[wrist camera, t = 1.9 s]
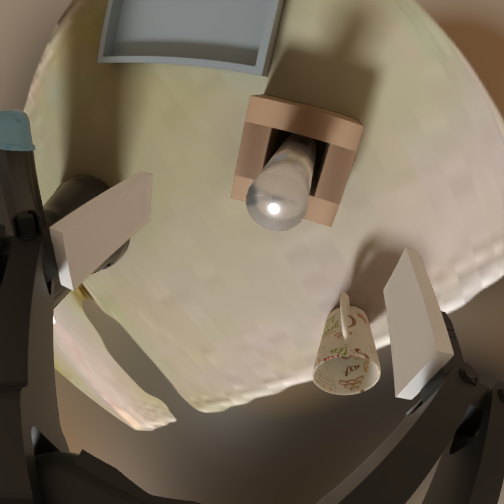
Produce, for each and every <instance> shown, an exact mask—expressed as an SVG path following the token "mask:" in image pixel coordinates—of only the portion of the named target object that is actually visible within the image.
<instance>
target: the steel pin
mask: <svg viewBox="0 0 504 504" xmlns="http://www.w3.org/2000/svg"><path fill="white" fill-rule="evenodd" d="M315 156H316V145H315V143H314V141H313V140H312V139H311V138H310V137H306V136H303V135H299V134H292V135H290V136H289V137H288V138H287V139H286V140H285V141H284V142H283V144H282V145H281V146H280V148H279V149H278V150H277V151H276V153H275V154H274V155H273V157H272V158H271V159H270V160H269V162H268V163H267V164H266V166H265V167H264V168H263V170H262V171H261V172H260V174H259V175H258V176H257V178H256V179H255V180H254V181H253V183H252V184H251V186H250V187H249V189H248V191H247V195H246V206H247V209H248V212H249V214H250V216H251V217H252V218H253V220H254V221H255V222H256V223H258V224H259V225H260V226H262V227H264V228H266V229H269V230H273V231H284V230H288V229H291V228H293V227H295V226H296V225H298V224H299V223H300V222H301V220H302V219H303V218H304V216H305V213H306V210H307V205H308V199H309V193H310V187H311V181H312V175H313V169H314V163H315Z"/></svg>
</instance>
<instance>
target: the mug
mask: <svg viewBox="0 0 504 504" xmlns="http://www.w3.org/2000/svg"><path fill="white" fill-rule="evenodd" d="M380 371H381V370H380V364H379V360H378V356H377V352H376V348H375V344H374V340H373V336H372V332H371V328H370V325H369V321H368V318H367V315H366V313H365V312H364V311H363V310H361V309H360V308H358V307H355V306H350V305H349V297H348V295H347V293H345V292H342V293H341V296H340V307H339V308H336V309H335V310H333V311H332V312H331V313H330V314H329V315H328V317H327V320H326V324H325V328H324V332H323V335H322V339H321V343H320V347H319V350H318V354H317V358H316V361H315V365H314V368H313V380H314V382H315V384H316V385H317V386H318V387H319V388H321V389H322V390H324V391H326V392H329V393H332V394H338V395H351V394H357V393H360V392H363V391H365V390H367V389H369V388H371V387H372V386H373V385H375V384H376V383H377V381H378V380H379V378H380Z"/></svg>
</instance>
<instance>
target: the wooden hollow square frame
mask: <svg viewBox="0 0 504 504" xmlns="http://www.w3.org/2000/svg"><path fill="white" fill-rule="evenodd" d="M279 129H280V130H284V131H288V132H292V133H295V134H299V135H303V136H306V137H310V138H313V139H317V140H320V141H324V142H327V144H326V147H325V151H324V154H323V158H322V161H321V165H320V168H319V172H318V175H317V178H314V177H312V181H311V187H310V193H309V199H308V205H307V210H306V213H305V216H304V218H303V219H307V220H310V221H313V222H317V223H320V224H323V225H326V226H330V227H332V224H333V221H334V218H335V215H336V213H337V210H338V207H339V204H340V201H341V198H342V195H343V192H344V189H345V186H346V183H347V180H348V177H349V174H350V171H351V168H352V165H353V162H354V159H355V155H356V152H357V149H358V146H359V142H360V139H361V136H362V132H363V129H364V126H363V125H362V124H361V123H360V122H359V121H358V120H357V119H354V118H351V117H348V116H344V115H341V114H338V113H335V112H331V111H328V110H325V109H321V108H318V107H314V106H310V105H307V104H303V103H299V102H295V101H291V100H287V99H283V98H278V97H274V96H269V95H265V94H262V95H252V96H250V99H249V104H248V109H247V114H246V119H245V124H244V129H243V134H242V139H241V144H240V149H239V155H238V160H237V165H236V171H235V176H234V181H233V187H232V192H231V198H233V199H236V200H240V201H244V202H246V195H247V191H248V189H249V187H250V186H251V184H252V183H253V181H254V180H255V179H256V178H257V176H258V175H259V174H260V172H261V171H262V170H263V168H264V167H265V166H266V164H267V163H268V162H269V160H270V159H271V158H272V157H273V154H274V149H275V145H276V141H277V136H278V132H279Z"/></svg>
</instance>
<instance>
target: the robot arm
mask: <svg viewBox="0 0 504 504" xmlns="http://www.w3.org/2000/svg"><path fill="white" fill-rule="evenodd" d="M33 150H35V146H34V145H33V142H32V135H31V129H30V121H29V118H28V116H27V114H26V113H25V112H23V111H22V110H19V109H14V110H7V111H1V112H0V504H200V503H197V502H193V501H184V500H177V499H170V498H163V497H158V496H153V495H150V494H148V493H146V492H145V491H144V490H142V489H141V488H140V487H138V486H137V485H136V484H134V483H133V482H132V481H131V480H129V479H128V478H127V477H125V476H124V475H123V474H122V473H121V472H119V471H118V470H117V469H116V468H114V467H112V466H111V465H109V464H107V463H105V462H103V461H101V460H100V459H98V458H96V457H94V456H93V455H91V454H89V453H87V452H86V451H84V450H82V451H81V453H80V454H76V453H71V452H69V449H68V445H67V443H66V440H65V437H64V435H63V433H62V430H61V426H60V421H59V413H58V406H57V397H56V386H55V373H54V353H53V309H54V308H55V307H56V306H57V305H58V304H59V303H60V302H61V300H62V299H63V298H64V297H65V296H66V295H67V294H68V293H69V292H70V291H71V290H73V291H74V290H75V289H76V288H77V287H78V286H79V285H80V284H81V283H82V282H83V281H84V280H85V279H87V278H88V277H89V276H90V275H91V274H93V273H96V272H98V271H100V270H102V269H106V268H108V267H110V266H112V265H113V264H115V263H116V262H117V261H118V260H119V259H120V258H121V257H122V256H123V255H124V253H125V252H126V250H127V248H128V244H129V239H130V238H131V237H132V236H133V235H134V234H135V233H136V232H138V231H139V230H140V229H141V228H142V227H143V226H144V225H146V224H147V223H148V222H149V221H150V220H151V194H152V176H153V174H151V173H147V172H143V171H140V172H138V173H136V174H134V175H132V176H131V177H129V178H127V179H125V180H123V181H122V182H120V183H118V184H117V185H115V186H113V187H111V188H109V187H108V186H106V185H105V184H104V183H103V182H101V181H100V180H98V179H96V178H94V177H91V176H87V175H79V176H76V177H73V178H71V179H69V180H68V181H66V182H64V183H63V184H61V185H60V186H59V187H58V188H57V190H56V191H55V193H54V194H53V195H52V196H51V197H50V199H49V200H48V201H47V202H46V203H45V205H44V206H43V205H42V200H41V195H40V190H39V185H38V179H37V173H36V167H35V160H34V152H33ZM383 293H384V299H385V306H386V312H387V319H388V326H389V334H390V342H391V350H392V360H393V370H394V383H395V396H396V397H399V398H405V399H412V398H414V397H415V396H416V395H417V394H418V393H419V392H420V391H421V398H422V399H421V400H420V401H419V402H418V403H417V404H416V405H415V406H414V407H412V408H411V409H410V410H409V411H408V412H407V413H406V414H407V416H406V417H405V418H404V420H403V421H402V422H401V423H400V424H399V425H398V427H397V428H396V429H395V430H394V431H393V432H392V433H391V434H390V436H388V438H387V439H386V440H385V441H384V442H383V443H382V444H381V445H380V446H379V447H378V448H377V449H376V450H375V451H374V452H373V453H372V454H371V455H370V456H369V457H368V458H367V459H366V460H365V461H364V462H363V463H362V464H361V465H360V466H359V467H358V468H357V469H356V470H355V471H353V472H352V473H351V474H350V475H349V476H348V477H347V478H346V479H345V480H343V481H342V482H341V483H340V484H339V485H338V486H337V487H335V488H334V489H333V490H332V491H331V492H329V493H328V494H327V495H326V496H325V497H324V498H322V499H321V500H319V501H318V502H317V503H316V504H405V503H406V502H407V501H408V499H409V498H410V497H411V496H412V494H413V493H414V492H415V491H416V489H417V488H418V486H419V485H420V484H421V483H422V481H423V480H424V479H425V477H426V476H427V475H428V473H429V472H430V470H431V469H432V468H433V466H434V465H435V463H436V462H437V460H438V459H439V457H440V456H441V454H442V456H441V459H440V461H439V464H438V467H437V469H436V472H435V474H434V477H433V479H432V482H431V484H430V486H429V489H428V491H427V493H426V496H425V498H424V500H423V502H422V504H497V503H498V499H499V496H500V492H501V488H502V483H503V479H504V383H503V382H496V383H495V384H494V385H493V386H492V387H491V388H488V387H486V386H484V385H483V384H481V383H479V382H480V381H479V377H478V374H477V372H476V370H475V369H474V368H473V367H472V366H471V365H469V364H468V363H466V362H464V360H463V357H462V353H461V350H460V346H459V343H458V340H457V339H456V338H457V337H456V334H455V332H454V328H453V325H452V322H451V320H450V319H449V317H448V316H447V314H446V313H445V312H442V311H441V310H440V307H439V304H438V302H437V299H436V296H435V293H434V290H433V288H432V285H431V282H430V280H429V277H428V275H427V272H426V270H425V267H424V265H423V262H422V260H421V257H420V255H419V253H418V252H417V251H414V250H411V249H408V248H405V249H404V251H403V253H402V256H401V258H400V259H399V261H398V263H397V265H396V267H395V269H394V271H393V273H392V275H391V277H390V279H389V281H388V282H387V284H386V286H385V288H384V290H383Z"/></svg>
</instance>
